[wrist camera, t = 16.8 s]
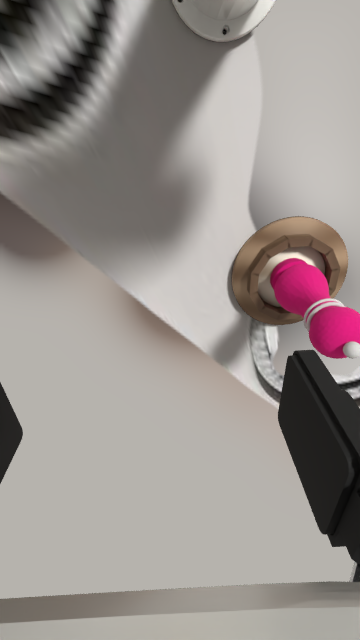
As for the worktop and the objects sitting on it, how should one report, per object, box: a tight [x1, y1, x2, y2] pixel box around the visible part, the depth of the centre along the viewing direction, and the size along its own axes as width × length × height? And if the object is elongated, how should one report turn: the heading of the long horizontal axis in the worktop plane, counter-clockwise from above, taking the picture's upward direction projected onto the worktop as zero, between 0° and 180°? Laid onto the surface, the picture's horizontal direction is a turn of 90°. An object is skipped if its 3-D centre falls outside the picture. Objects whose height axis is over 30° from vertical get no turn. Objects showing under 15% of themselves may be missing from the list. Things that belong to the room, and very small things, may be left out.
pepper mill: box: [270, 258, 360, 358], centre depth 40 cm, size 7×7×20 cm
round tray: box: [232, 216, 348, 325], centre depth 48 cm, size 18×18×3 cm
